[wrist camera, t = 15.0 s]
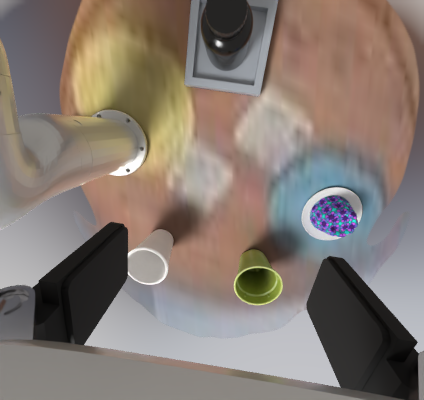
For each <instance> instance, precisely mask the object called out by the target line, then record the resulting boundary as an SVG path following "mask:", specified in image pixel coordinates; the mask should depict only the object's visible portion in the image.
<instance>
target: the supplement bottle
mask: <svg viewBox="0 0 424 400" xmlns="http://www.w3.org/2000/svg"><path fill="white" fill-rule="evenodd" d="M252 30H253V14H252V10H251V7H250V5H249V3H248V2H247V0H207V2H206V6H205V8H204V10H203V13H202V17H201V34H202V38H203V41H204V45H205V48H206V52H207V55H208V58H209V60H210V62H211V63H212V64H213V65H214V66H215V67H216V68H217V69H219V70H222V71H231V70H234V69H236V68H237V67H239V66H240V65H241V64H242V62H243V61H244V59H245V57H246V55H247V52H248V48H249V44H250V39H251V35H252Z"/></svg>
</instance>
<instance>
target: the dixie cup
mask: <svg viewBox="0 0 424 400" xmlns="http://www.w3.org/2000/svg"><path fill="white" fill-rule="evenodd" d="M173 242H174V240H173V237H172V235H171V234H170V233H169V232H168V231H166V230H163V229H158V230H155V231H153V232H152V233H151V234H150V235H149V236H148V237H147V238H146V239H145V240H144V241H143V242H141V243H140V244H139V245H138V246H137V247H136V248H135V249H133V250H132V251H130V252H129V253H128V274H129V275H130V276H131V277H132V278H133V279H134V280H136V281H138V282H140V283H143V284H156V283H159V282H161V281H162V280H163V279H164V278H165V277H166V276H167V273H168V264H169V260H170V256H171V251H172V247H173Z"/></svg>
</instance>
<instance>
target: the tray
mask: <svg viewBox="0 0 424 400" xmlns="http://www.w3.org/2000/svg"><path fill="white" fill-rule="evenodd" d="M206 2H207V0H191V9H190V22H189V34H188V46H187V59H186V71H185V85H186V86H187V87H194V88H201V89H208V90H215V91H222V92H229V93H236V94H243V95H250V96H257V97H258V96H259V95H260V92H261V86H262V81H263V76H264V71H265V66H266V61H267V56H268V50H269V45H270V40H271V35H272V30H273V25H274V20H275V14H276V9H277V4H278V0H247V2H248V3H249V5H250V7H251V10H252V14H253V30H252V35H251V39H250V44H249V48H248V52H247V55H246V57H245V59H244V61H243V62H242V64H241V65H240V66H239V67H237V68H236V69H234V70H231V71H222V70H219V69H217V68H216V67H215V66H214V65H213V64H212V63H211V62H210V60H209V58H208V55H207V52H206V48H205V45H204V41H203V38H202V34H201V17H202V13H203V10H204V8H205V6H206Z"/></svg>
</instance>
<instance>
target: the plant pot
mask: <svg viewBox="0 0 424 400" xmlns="http://www.w3.org/2000/svg"><path fill="white" fill-rule="evenodd" d="M282 288H283V283H282V279H281V277H280V275H279V274H278V273H277V272H276V271H275V270H273V269H272V267H271V265H270V264H269V262H268V260H267V258H266V257H265V255H264V254H263V253H262V252H261V251H259V250H255V249H251V250H249V251H246V252H244V253H243V254H242V255H241V257H240V262H239V270H238V274H237V276H236V278H235V281H234V290H235V293H236V295H237V296H238V297H239V298H240V299H241V300H242V301H244V302H246V303H248V304H252V305H264V304H268V303H270V302H272V301H273V300H275V299H276V298H277V297H278V296H279V295H280V293H281V291H282Z"/></svg>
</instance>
